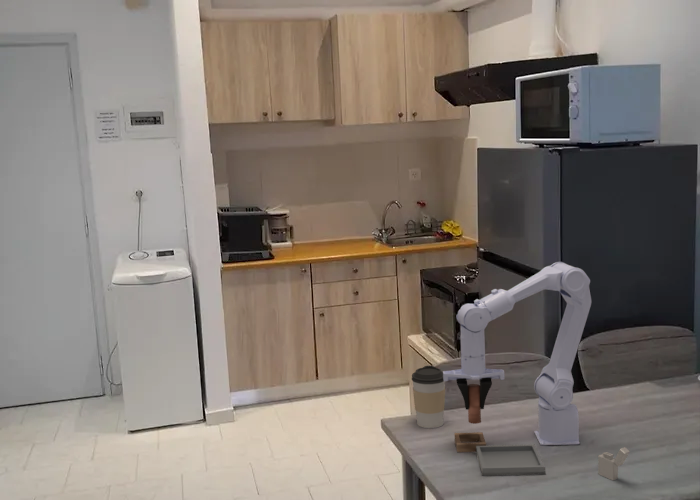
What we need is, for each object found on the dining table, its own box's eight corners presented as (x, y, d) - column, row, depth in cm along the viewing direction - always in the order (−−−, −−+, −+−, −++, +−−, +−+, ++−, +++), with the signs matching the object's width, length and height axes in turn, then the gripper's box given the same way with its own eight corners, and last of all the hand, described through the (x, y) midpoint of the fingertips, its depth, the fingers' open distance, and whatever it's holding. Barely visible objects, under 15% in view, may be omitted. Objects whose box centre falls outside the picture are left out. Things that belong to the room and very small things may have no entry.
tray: (534, 451, 176) (534, 444, 176) (545, 474, 164) (545, 466, 164) (476, 452, 177) (476, 445, 176) (482, 475, 165) (482, 468, 165)
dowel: (480, 418, 180) (479, 383, 178) (481, 423, 177) (480, 387, 175) (467, 419, 180) (466, 383, 179) (469, 423, 177) (468, 388, 176)
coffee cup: (445, 430, 191) (444, 375, 188) (411, 429, 193) (409, 374, 190) (448, 417, 200) (446, 364, 197) (415, 416, 201) (413, 363, 199)
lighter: (597, 473, 163) (597, 439, 162) (602, 471, 164) (603, 437, 163) (624, 485, 157) (624, 450, 156) (629, 483, 158) (630, 448, 157)
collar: (482, 439, 184) (482, 432, 184) (486, 451, 177) (486, 443, 177) (454, 440, 184) (454, 432, 184) (457, 452, 178) (457, 444, 177)
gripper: (443, 359, 172) (445, 414, 174) (506, 358, 171) (507, 413, 173) (441, 351, 179) (443, 404, 181) (501, 349, 178) (502, 402, 180)
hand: (474, 407), depth 178 cm, fingers closed on dowel, 3 cm apart
